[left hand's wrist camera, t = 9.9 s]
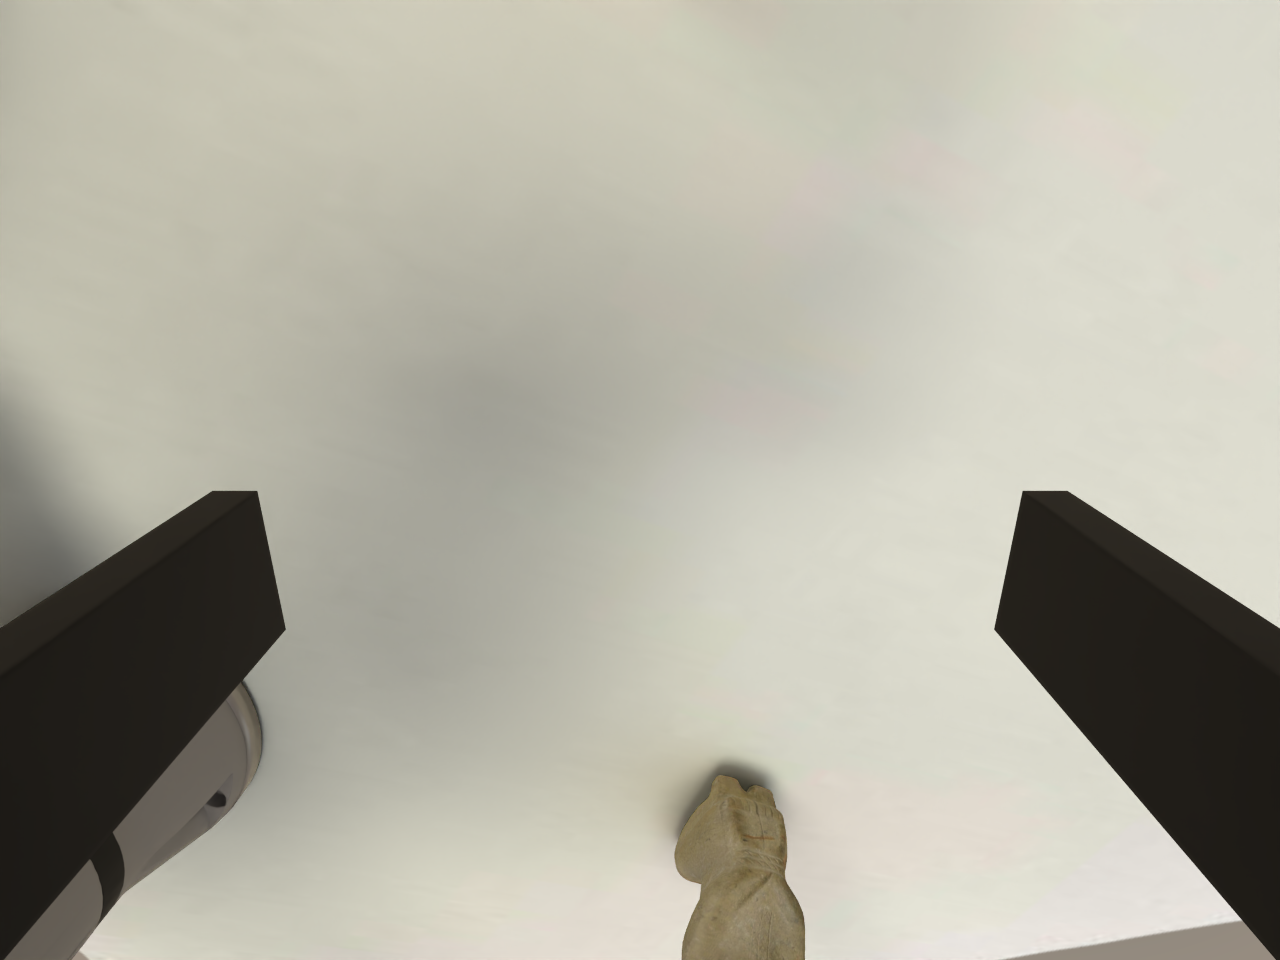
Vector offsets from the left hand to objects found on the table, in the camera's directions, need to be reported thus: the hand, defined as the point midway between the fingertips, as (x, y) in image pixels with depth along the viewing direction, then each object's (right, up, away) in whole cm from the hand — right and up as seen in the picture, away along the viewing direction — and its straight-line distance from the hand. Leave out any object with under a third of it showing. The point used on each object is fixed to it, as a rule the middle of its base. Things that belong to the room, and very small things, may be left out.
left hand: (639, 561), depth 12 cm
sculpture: (+5, -18, +29) cm, 34 cm away
